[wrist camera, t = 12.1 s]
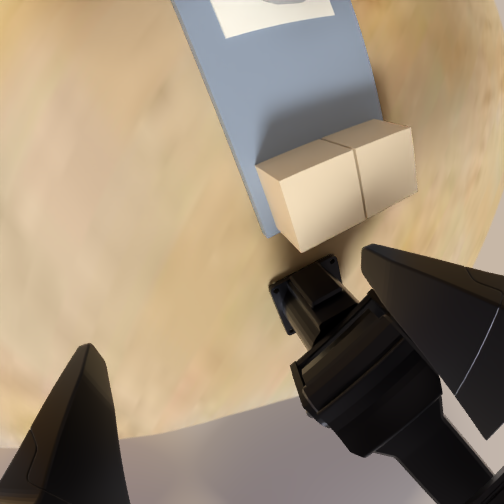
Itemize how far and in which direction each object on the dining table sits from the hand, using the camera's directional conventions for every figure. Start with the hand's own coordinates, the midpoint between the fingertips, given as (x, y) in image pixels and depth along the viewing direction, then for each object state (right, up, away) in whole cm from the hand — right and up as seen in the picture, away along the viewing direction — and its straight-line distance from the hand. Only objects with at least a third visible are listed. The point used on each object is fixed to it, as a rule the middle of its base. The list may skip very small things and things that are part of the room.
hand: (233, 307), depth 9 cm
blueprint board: (+3, +14, +9) cm, 17 cm away
